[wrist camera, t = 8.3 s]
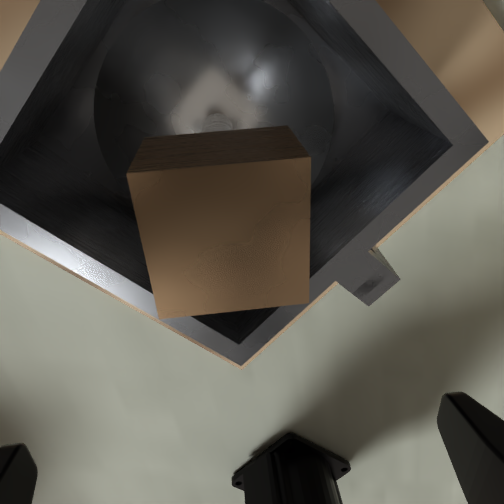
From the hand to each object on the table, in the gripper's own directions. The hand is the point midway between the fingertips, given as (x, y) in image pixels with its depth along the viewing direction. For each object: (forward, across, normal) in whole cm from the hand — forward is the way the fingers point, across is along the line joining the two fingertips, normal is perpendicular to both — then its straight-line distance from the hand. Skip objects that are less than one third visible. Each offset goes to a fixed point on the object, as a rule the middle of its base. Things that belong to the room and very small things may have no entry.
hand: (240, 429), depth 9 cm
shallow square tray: (+11, -1, -3) cm, 12 cm away
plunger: (+11, 0, -4) cm, 12 cm away
